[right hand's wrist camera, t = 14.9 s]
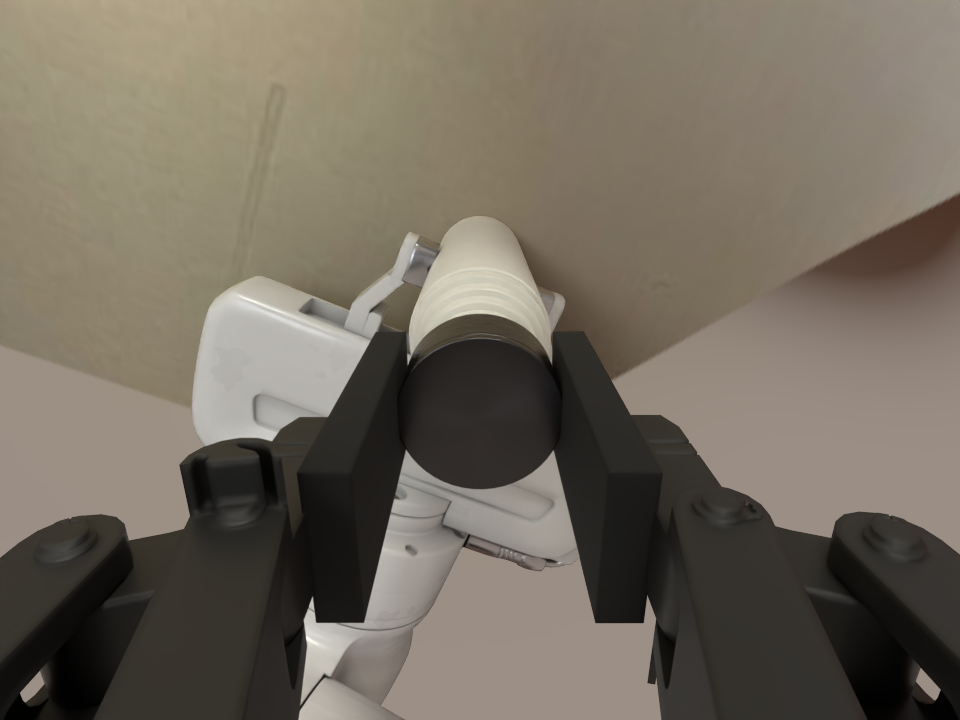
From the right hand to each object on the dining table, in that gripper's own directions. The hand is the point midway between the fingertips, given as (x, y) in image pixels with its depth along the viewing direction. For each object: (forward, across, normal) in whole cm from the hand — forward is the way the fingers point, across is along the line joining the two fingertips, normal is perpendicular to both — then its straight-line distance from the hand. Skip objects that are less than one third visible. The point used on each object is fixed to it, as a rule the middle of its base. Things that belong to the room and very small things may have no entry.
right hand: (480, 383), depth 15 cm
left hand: (+11, 0, -1) cm, 11 cm away
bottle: (+17, 0, 0) cm, 17 cm away
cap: (-2, 0, 0) cm, 2 cm away
